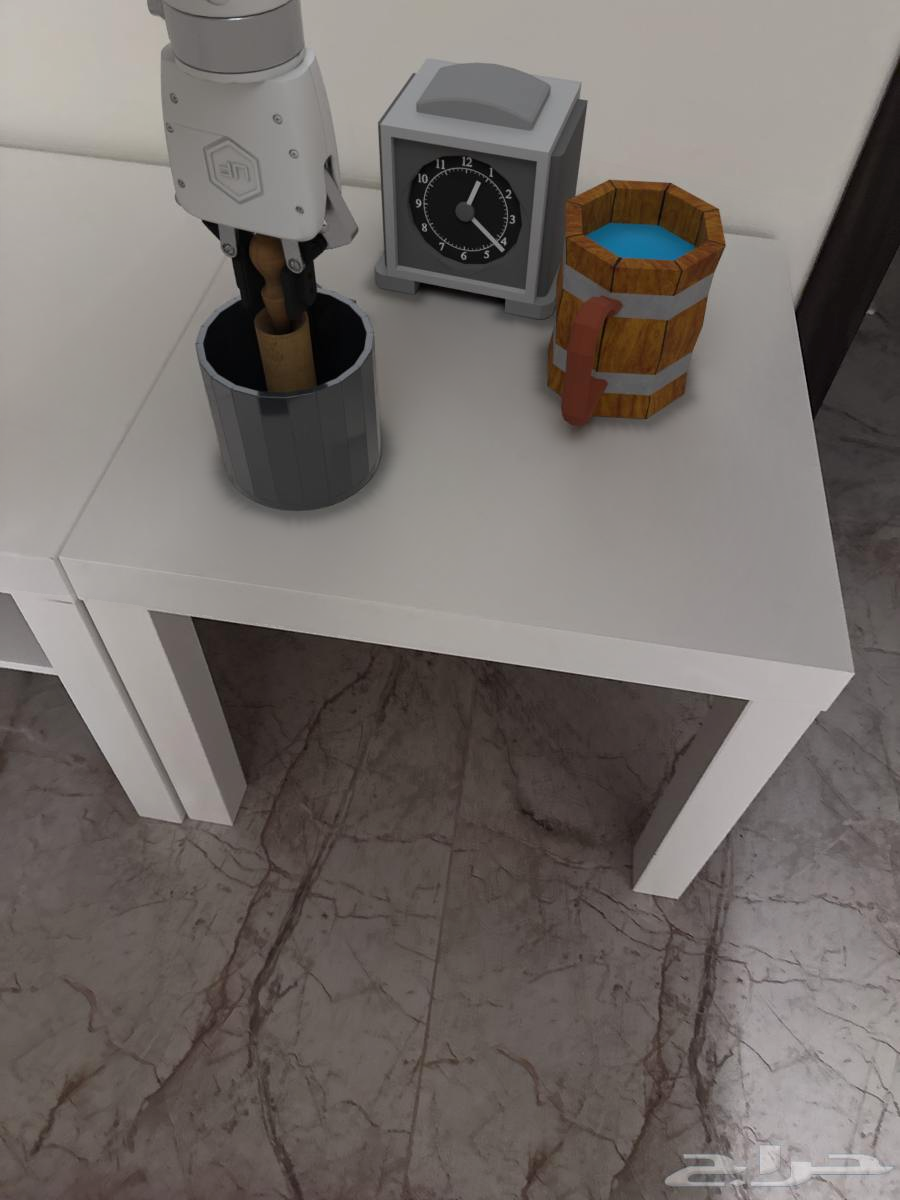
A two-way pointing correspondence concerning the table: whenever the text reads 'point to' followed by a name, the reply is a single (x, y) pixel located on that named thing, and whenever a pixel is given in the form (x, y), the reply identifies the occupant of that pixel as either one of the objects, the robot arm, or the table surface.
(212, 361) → the grey open cylinder
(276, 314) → the mortar and pestle
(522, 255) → the alarm clock
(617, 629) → the table surface
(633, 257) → the mug
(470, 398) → the table surface
